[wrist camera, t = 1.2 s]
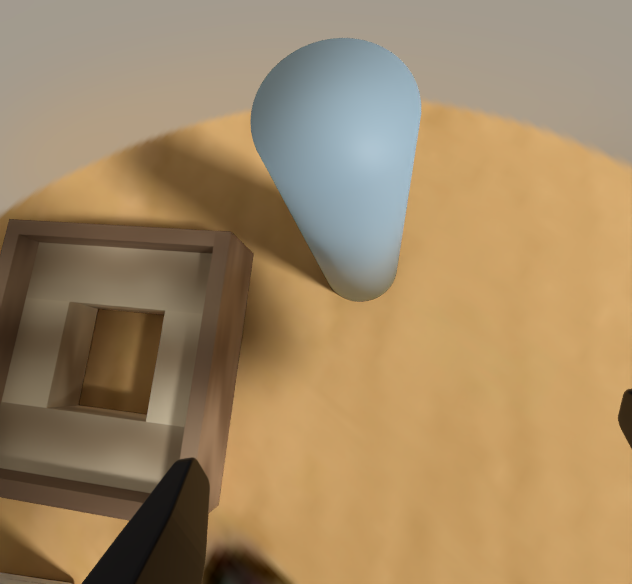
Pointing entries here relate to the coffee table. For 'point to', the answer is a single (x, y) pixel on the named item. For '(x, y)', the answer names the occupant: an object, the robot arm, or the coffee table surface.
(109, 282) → the bore box
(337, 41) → the peg
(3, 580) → the skincare box
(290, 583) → the coffee table surface
